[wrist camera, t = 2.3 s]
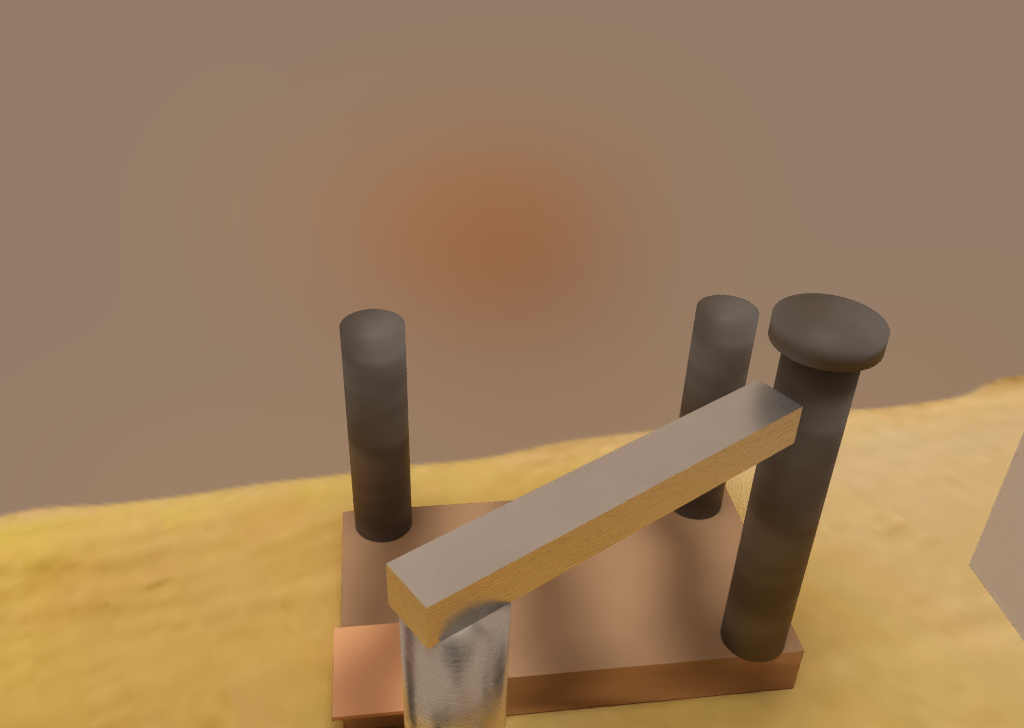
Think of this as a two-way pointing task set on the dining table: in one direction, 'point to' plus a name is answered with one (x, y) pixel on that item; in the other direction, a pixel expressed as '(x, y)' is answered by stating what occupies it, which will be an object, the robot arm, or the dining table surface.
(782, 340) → the wooden base with rods
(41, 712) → the dining table surface
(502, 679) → the hinged leg
